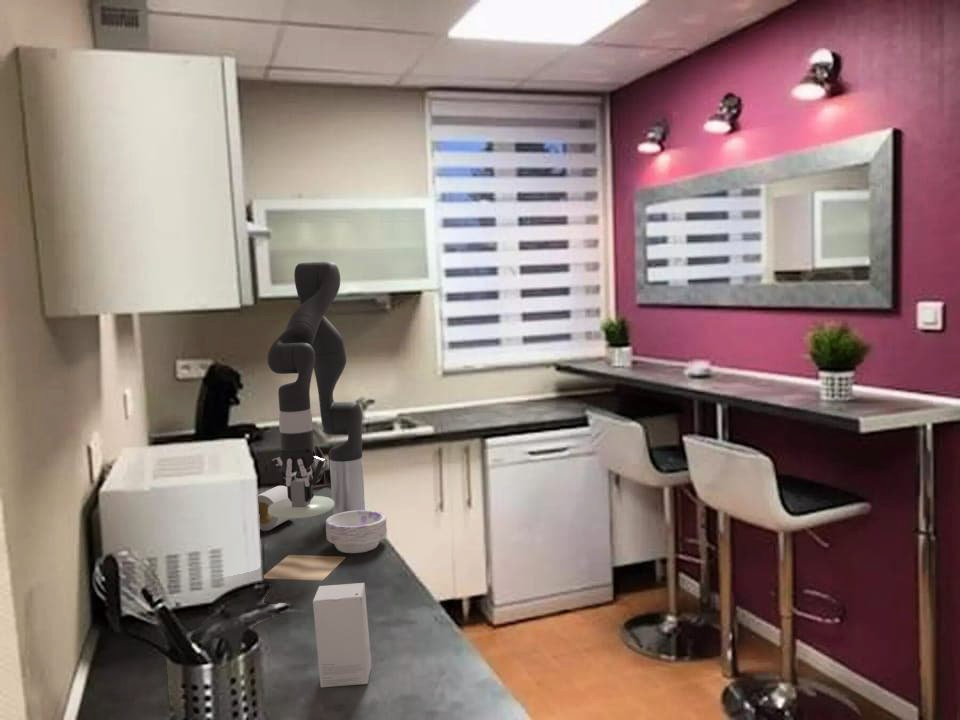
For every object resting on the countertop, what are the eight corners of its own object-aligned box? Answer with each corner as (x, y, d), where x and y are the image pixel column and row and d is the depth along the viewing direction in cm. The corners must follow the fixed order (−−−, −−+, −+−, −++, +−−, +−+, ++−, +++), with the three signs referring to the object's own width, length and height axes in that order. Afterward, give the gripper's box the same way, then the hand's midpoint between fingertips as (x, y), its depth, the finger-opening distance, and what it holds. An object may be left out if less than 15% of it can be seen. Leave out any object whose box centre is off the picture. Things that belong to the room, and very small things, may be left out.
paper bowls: (393, 537, 207) (391, 508, 206) (380, 558, 192) (378, 527, 191) (336, 538, 208) (334, 508, 207) (319, 558, 193) (317, 527, 192)
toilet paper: (279, 532, 215) (276, 496, 214) (248, 529, 218) (245, 494, 217) (299, 520, 225) (296, 486, 223) (268, 518, 228) (266, 484, 227)
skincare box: (372, 667, 138) (367, 581, 136) (368, 686, 131) (363, 597, 130) (324, 669, 138) (318, 583, 136) (317, 689, 131) (312, 599, 129)
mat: (288, 556, 195) (288, 554, 195) (346, 558, 192) (346, 556, 192) (260, 580, 180) (260, 577, 180) (322, 582, 177) (322, 580, 177)
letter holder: (309, 489, 258) (307, 447, 257) (302, 475, 277) (300, 436, 276) (340, 485, 262) (337, 444, 260) (331, 472, 280) (329, 433, 279)
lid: (285, 498, 194) (283, 471, 193) (343, 499, 191) (342, 472, 190) (256, 517, 179) (254, 488, 178) (319, 519, 176) (317, 489, 175)
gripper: (331, 425, 185) (335, 496, 187) (275, 425, 188) (279, 495, 190) (318, 432, 178) (323, 506, 180) (260, 431, 180) (265, 505, 182)
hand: (300, 500), depth 185 cm, fingers closed on lid, 3 cm apart
